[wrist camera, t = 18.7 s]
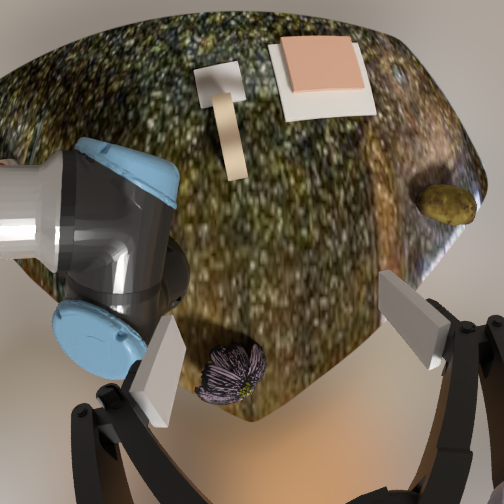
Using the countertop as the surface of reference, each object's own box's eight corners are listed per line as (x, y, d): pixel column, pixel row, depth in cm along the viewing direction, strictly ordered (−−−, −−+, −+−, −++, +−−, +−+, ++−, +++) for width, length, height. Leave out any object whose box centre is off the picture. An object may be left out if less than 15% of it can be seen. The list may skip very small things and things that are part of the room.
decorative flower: (262, 421, 46) (191, 419, 39) (240, 390, 56) (177, 383, 50) (292, 362, 46) (216, 352, 39) (263, 336, 56) (197, 322, 50)
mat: (285, 122, 39) (286, 121, 38) (267, 46, 34) (267, 44, 34) (375, 115, 38) (376, 114, 38) (356, 44, 34) (357, 43, 33)
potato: (420, 167, 41) (447, 170, 34) (460, 193, 43) (485, 199, 35) (407, 208, 44) (433, 217, 36) (448, 229, 45) (473, 240, 38)
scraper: (260, 172, 41) (264, 173, 35) (216, 181, 41) (212, 184, 35) (237, 62, 35) (237, 46, 29) (194, 71, 35) (186, 57, 29)
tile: (294, 90, 35) (280, 37, 32) (292, 93, 37) (279, 41, 33) (364, 87, 35) (349, 36, 32) (361, 89, 36) (346, 39, 33)
